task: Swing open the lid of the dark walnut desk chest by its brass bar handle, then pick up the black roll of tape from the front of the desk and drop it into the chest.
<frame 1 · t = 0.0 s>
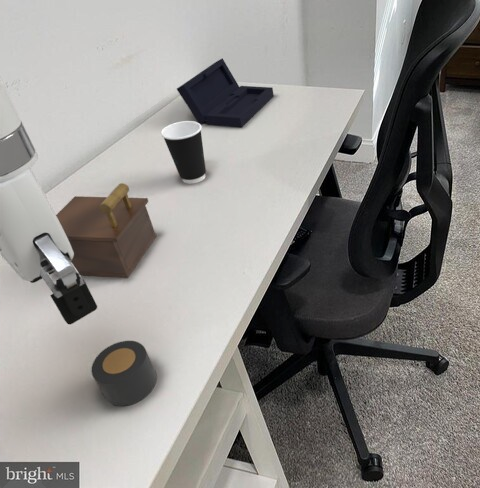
hand: (62, 294, 52), 15 cm above the table, tool pointing down, fingers open, 9 cm apart
lid: (89, 206, 76), point 10 cm above the table, hinge at 0.0°
tape: (131, 384, 61), on the table
dixie cup: (194, 178, 102), on the table
storage box: (231, 109, 130), on the table
chest: (108, 254, 82), on the table
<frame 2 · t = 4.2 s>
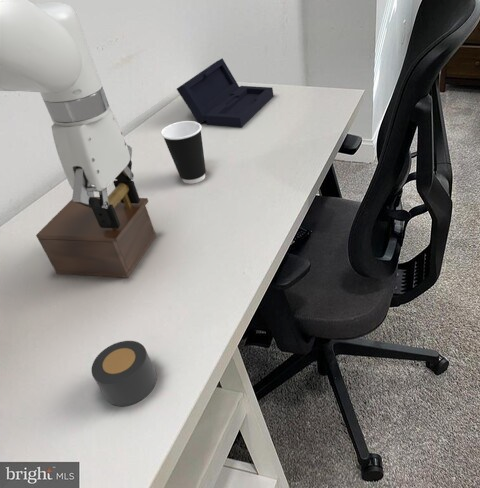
hand: (120, 213, 76), 9 cm above the table, tool pointing down, fingers closed on lid, 6 cm apart
lid: (89, 206, 76), point 10 cm above the table, hinge at 0.0°, touching gripper
everything else where it was.
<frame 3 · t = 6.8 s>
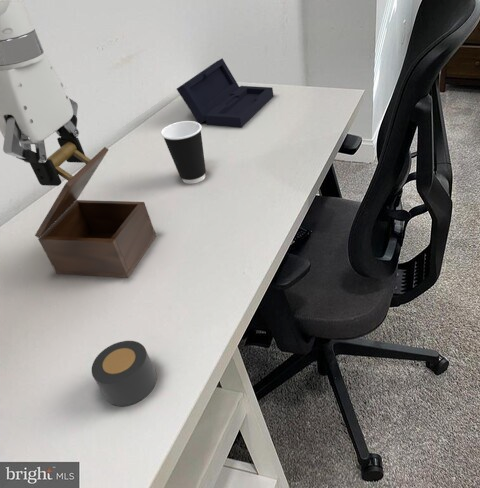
hand: (64, 171, 73), 16 cm above the table, tool pointing down, fingers closed on lid, 6 cm apart
lid: (58, 183, 74), point 14 cm above the table, hinge at 45.4°, touching gripper
everything else where it was.
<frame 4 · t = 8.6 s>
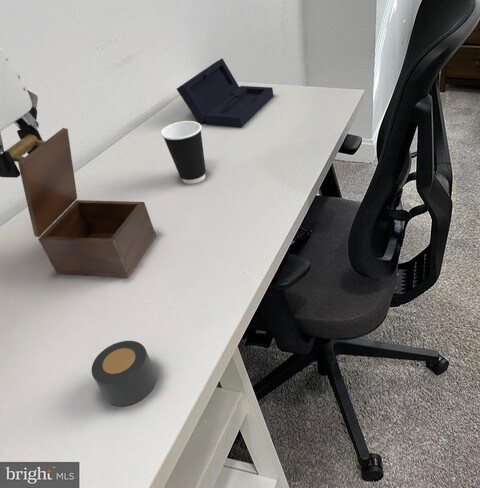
hand: (24, 163, 73), 17 cm above the table, tool pointing down, fingers closed on lid, 6 cm apart
lid: (37, 178, 74), point 15 cm above the table, hinge at 73.9°, touching gripper
everything else where it was.
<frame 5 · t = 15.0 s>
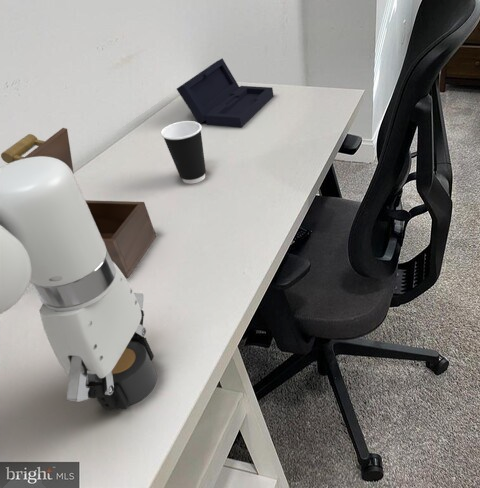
hand: (129, 380, 60), 1 cm above the table, tool pointing down, fingers closed on tape, 6 cm apart
lid: (36, 178, 74), point 15 cm above the table, hinge at 74.2°
tape: (131, 384, 61), on the table, touching gripper
everything else where it was.
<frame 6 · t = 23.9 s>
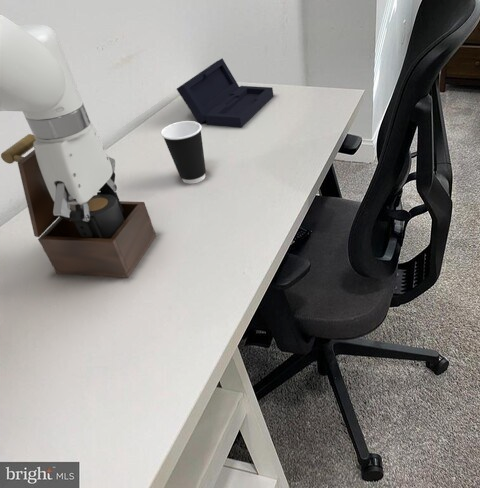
hand: (103, 224, 78), 6 cm above the table, tool pointing down, fingers closed on tape, 6 cm apart
tape: (105, 228, 79), point 6 cm above the table, touching gripper
everything else where it was.
when the fingers open (9 cm above the table, at t = 40.4 s): tape drops 7 cm, resting on chest.
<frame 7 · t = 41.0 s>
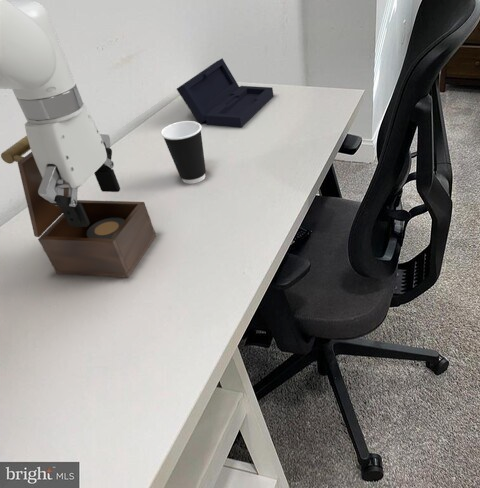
hand: (96, 207, 76), 10 cm above the table, tool pointing down, fingers open, 9 cm apart
tape: (116, 250, 82), point 1 cm above the table, touching chest
everything else where it was.
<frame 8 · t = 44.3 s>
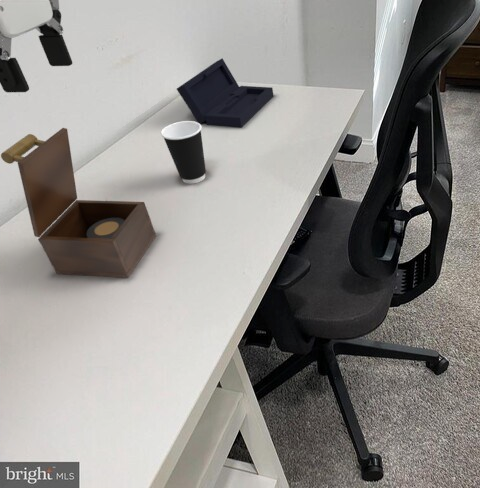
hand: (41, 77, 64), 30 cm above the table, tool pointing down, fingers open, 9 cm apart
nothing on the table moved.
at the end: lid at +74° (first picture: +0°); tape inside the target area in the chest (1.6 cm from its centre), point 0.8 cm above the chest's base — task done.
